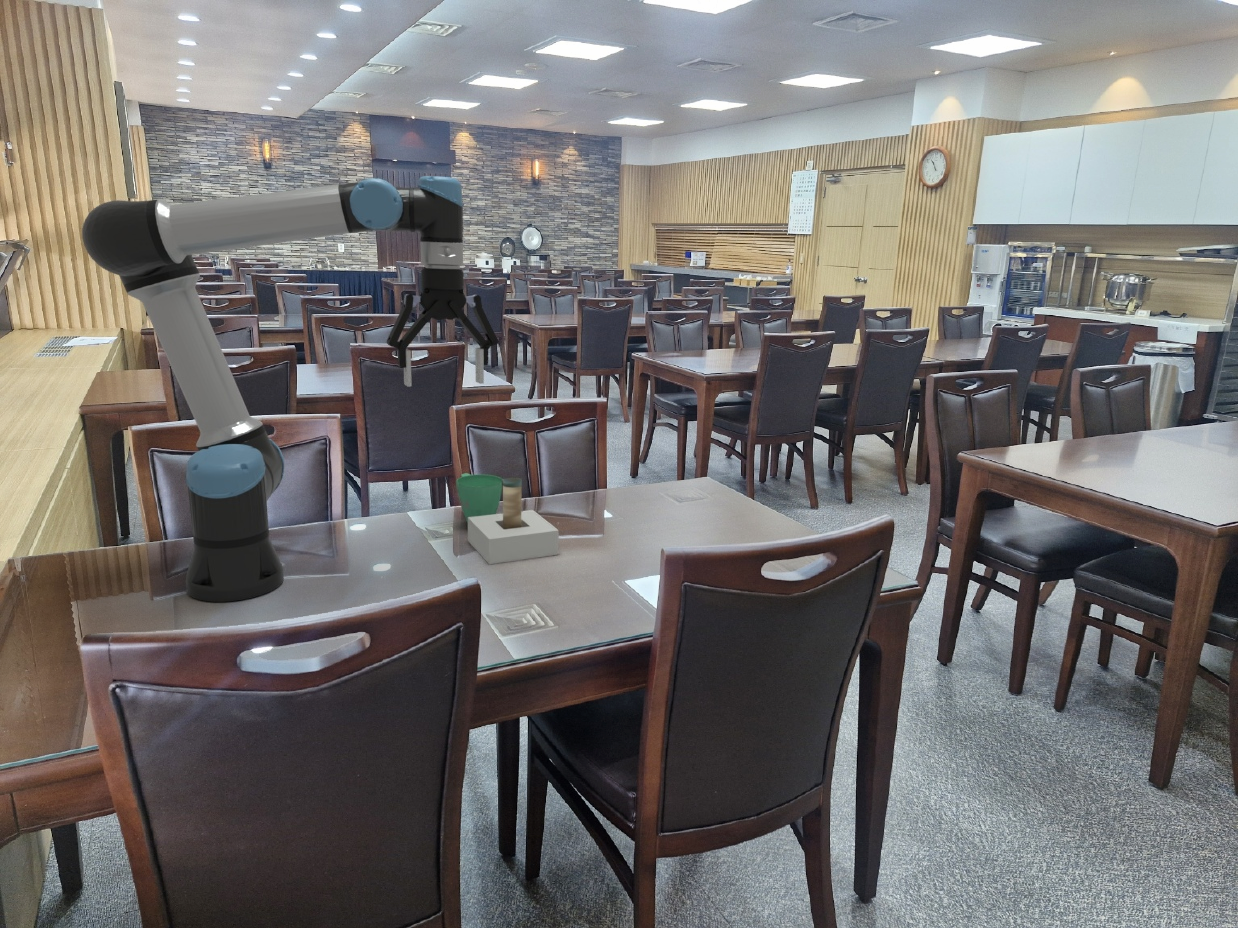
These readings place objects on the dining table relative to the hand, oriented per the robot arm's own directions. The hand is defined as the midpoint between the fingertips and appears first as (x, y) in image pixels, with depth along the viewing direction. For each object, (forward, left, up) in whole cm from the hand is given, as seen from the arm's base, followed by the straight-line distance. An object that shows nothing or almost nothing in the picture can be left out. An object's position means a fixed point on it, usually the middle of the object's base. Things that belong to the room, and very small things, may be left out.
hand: (444, 384), depth 152 cm
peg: (+12, -4, -33) cm, 35 cm away
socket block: (+12, -4, -33) cm, 35 cm away
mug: (+10, +14, -33) cm, 37 cm away
